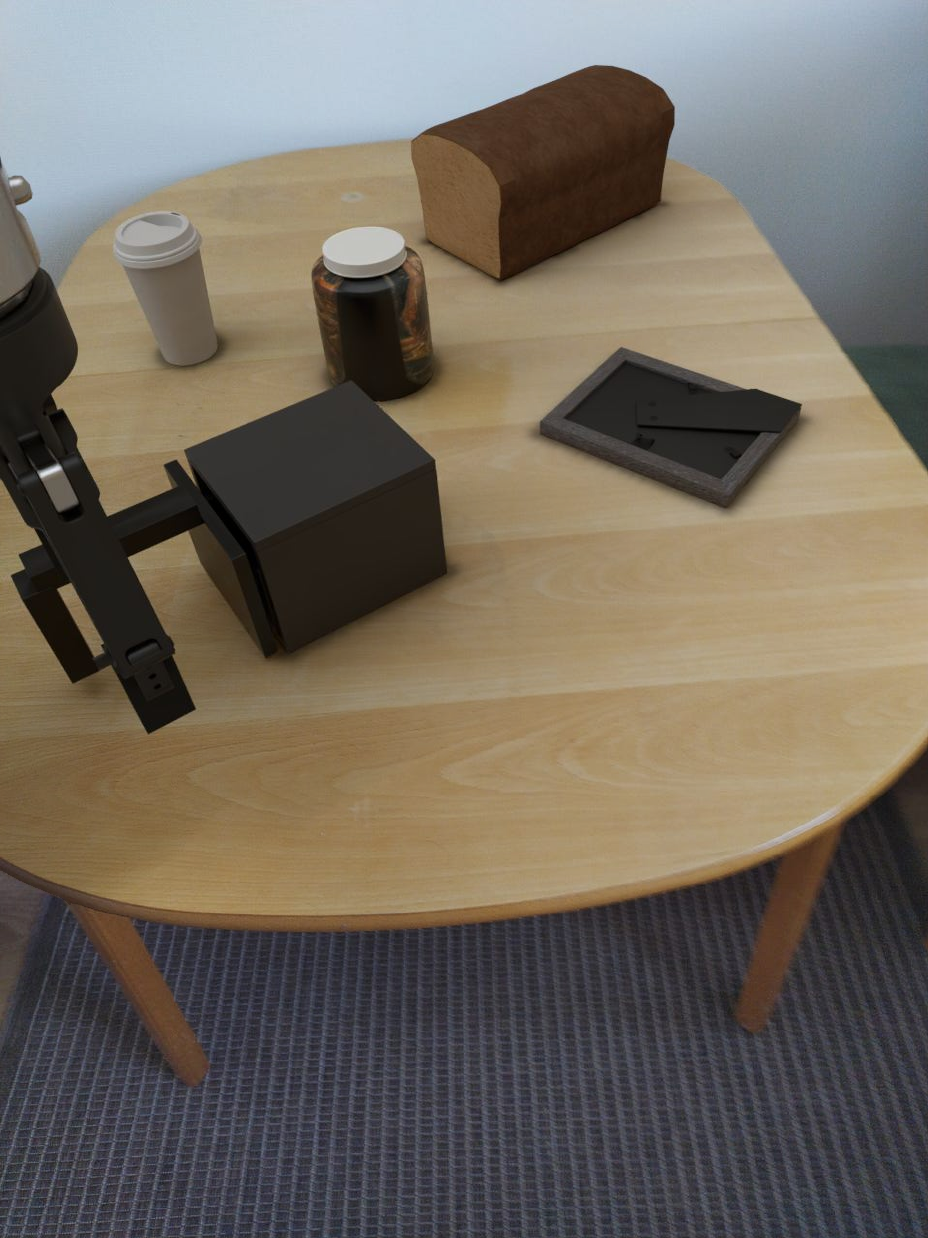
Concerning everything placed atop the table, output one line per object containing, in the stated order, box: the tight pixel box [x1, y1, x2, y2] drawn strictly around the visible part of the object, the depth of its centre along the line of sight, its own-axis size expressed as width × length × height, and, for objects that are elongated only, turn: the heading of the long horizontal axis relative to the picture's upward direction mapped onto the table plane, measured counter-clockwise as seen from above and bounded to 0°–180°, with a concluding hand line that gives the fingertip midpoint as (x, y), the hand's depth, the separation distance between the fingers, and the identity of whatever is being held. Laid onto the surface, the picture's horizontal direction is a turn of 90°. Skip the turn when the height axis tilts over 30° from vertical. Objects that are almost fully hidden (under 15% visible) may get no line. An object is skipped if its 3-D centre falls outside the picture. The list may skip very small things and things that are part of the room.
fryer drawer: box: [10, 459, 279, 684], centre depth 78 cm, size 30×14×13 cm, turn 123°
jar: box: [310, 225, 435, 401], centre depth 101 cm, size 12×12×15 cm
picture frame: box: [539, 346, 803, 509], centre depth 96 cm, size 16×2×21 cm
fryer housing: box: [183, 380, 448, 654], centre depth 82 cm, size 16×14×13 cm
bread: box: [410, 64, 676, 280], centre depth 122 cm, size 18×30×16 cm, turn 129°
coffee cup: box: [112, 210, 219, 367], centre depth 107 cm, size 10×10×15 cm
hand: (123, 638), depth 53 cm, fingers open, 13 cm apart
